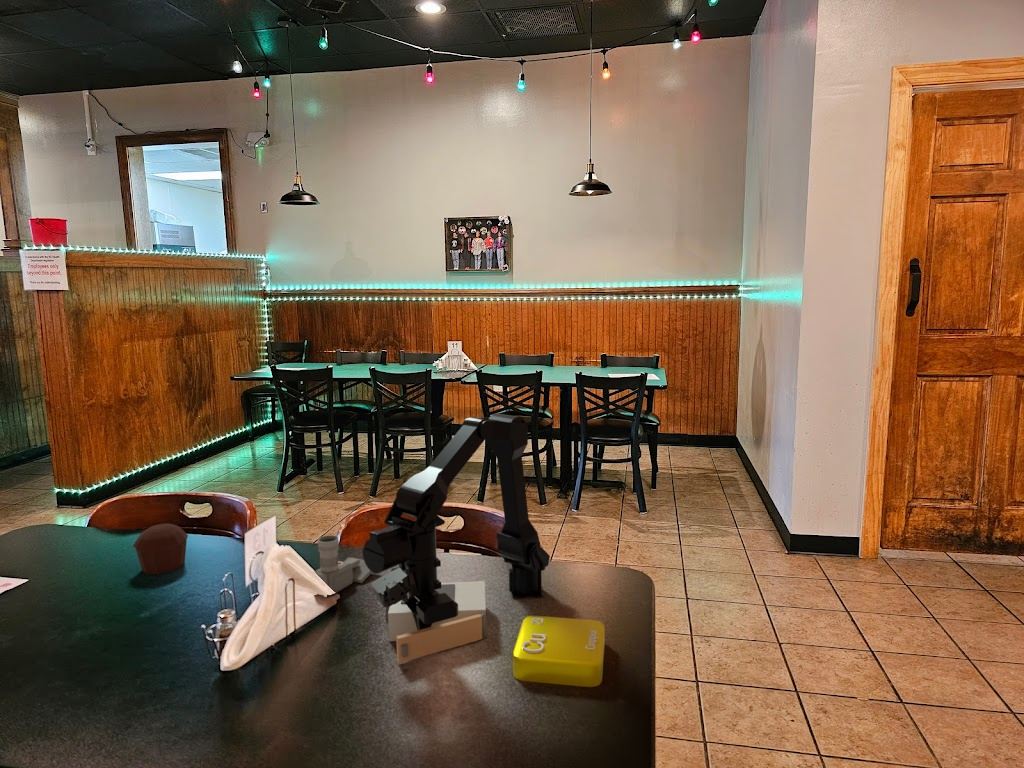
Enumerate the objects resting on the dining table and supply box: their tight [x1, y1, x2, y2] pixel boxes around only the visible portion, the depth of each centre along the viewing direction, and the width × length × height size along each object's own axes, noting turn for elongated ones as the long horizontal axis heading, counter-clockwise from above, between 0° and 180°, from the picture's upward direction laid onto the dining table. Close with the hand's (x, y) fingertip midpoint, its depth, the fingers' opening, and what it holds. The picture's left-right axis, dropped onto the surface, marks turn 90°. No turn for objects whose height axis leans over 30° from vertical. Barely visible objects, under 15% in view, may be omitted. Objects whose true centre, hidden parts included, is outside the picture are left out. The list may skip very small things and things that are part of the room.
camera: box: [314, 534, 373, 594], centre depth 145 cm, size 9×12×15 cm
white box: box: [385, 580, 487, 642], centre depth 127 cm, size 19×12×6 cm, turn 93°
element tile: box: [512, 615, 606, 688], centre depth 114 cm, size 15×15×5 cm
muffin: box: [132, 523, 189, 575], centre depth 155 cm, size 12×11×10 cm
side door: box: [395, 613, 487, 664], centre depth 117 cm, size 17×2×4 cm, turn 118°
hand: (422, 636), depth 118 cm, fingers closed
